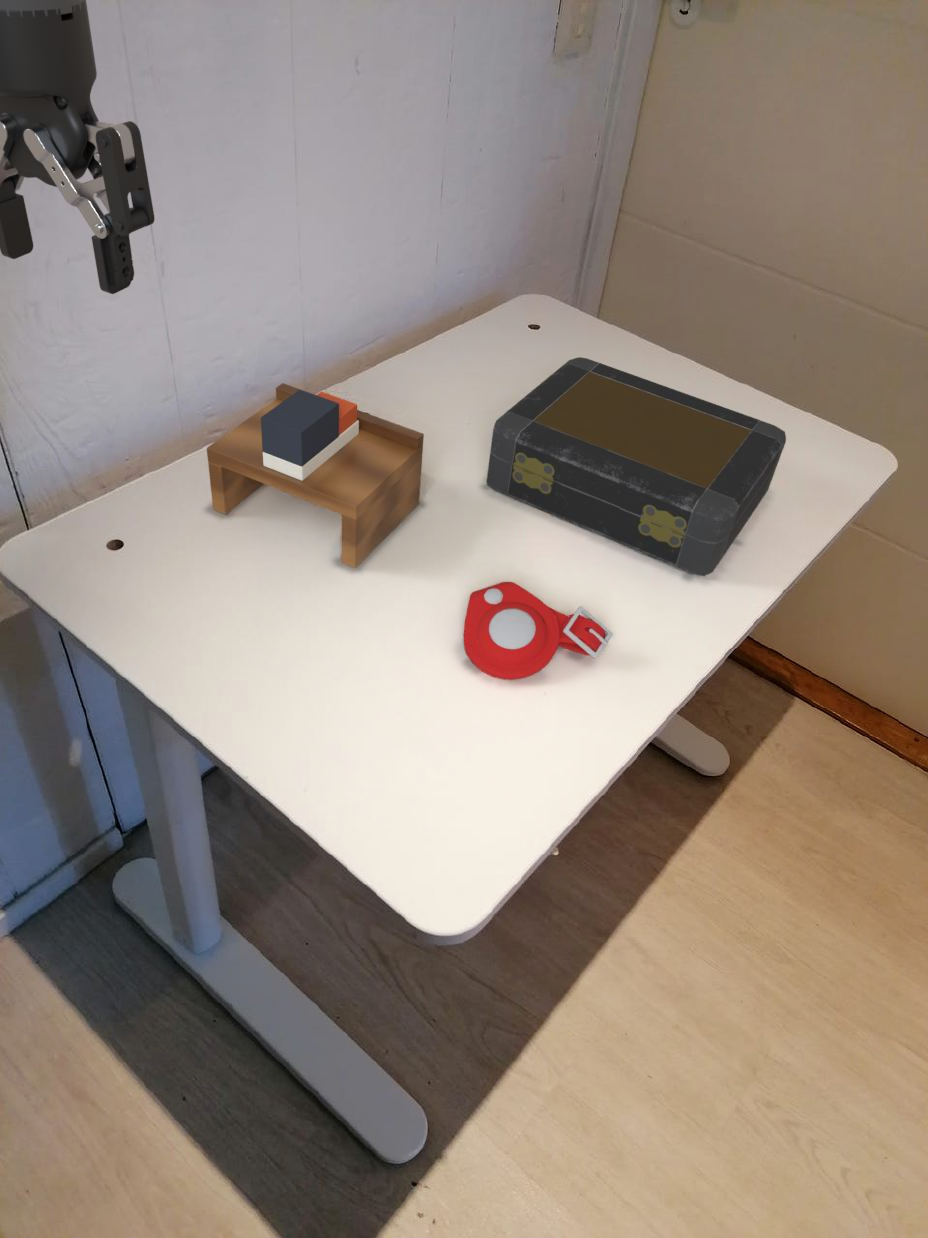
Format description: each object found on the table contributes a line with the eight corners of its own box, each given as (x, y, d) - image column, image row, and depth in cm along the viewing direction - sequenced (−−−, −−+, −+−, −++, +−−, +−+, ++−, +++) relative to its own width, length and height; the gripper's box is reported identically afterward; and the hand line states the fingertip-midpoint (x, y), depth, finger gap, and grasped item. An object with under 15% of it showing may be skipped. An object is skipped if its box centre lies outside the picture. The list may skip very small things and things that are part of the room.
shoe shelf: (355, 568, 89) (356, 495, 83) (212, 509, 93) (205, 436, 88) (419, 504, 97) (424, 433, 91) (285, 453, 101) (282, 382, 96)
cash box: (771, 487, 105) (794, 425, 100) (706, 584, 91) (728, 519, 86) (567, 409, 113) (578, 348, 108) (479, 488, 100) (487, 423, 95)
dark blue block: (302, 481, 86) (301, 432, 83) (263, 466, 87) (260, 417, 84) (359, 433, 92) (360, 387, 89) (321, 420, 94) (321, 373, 90)
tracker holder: (485, 688, 77) (441, 589, 82) (486, 710, 81) (444, 615, 86) (623, 637, 79) (572, 543, 84) (617, 661, 83) (569, 570, 88)
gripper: (-137, -28, 54) (-57, 261, 64) (62, 23, 50) (111, 322, 60) (-28, -42, 59) (29, 228, 70) (160, 3, 55) (189, 281, 66)
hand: (67, 271), depth 65 cm, fingers open, 8 cm apart
